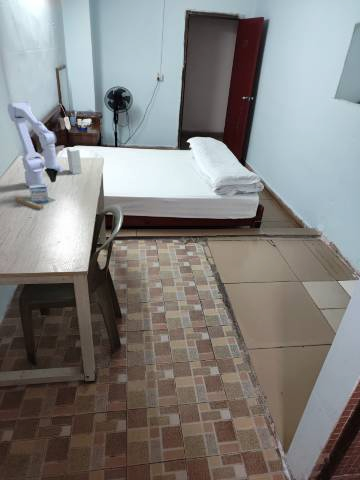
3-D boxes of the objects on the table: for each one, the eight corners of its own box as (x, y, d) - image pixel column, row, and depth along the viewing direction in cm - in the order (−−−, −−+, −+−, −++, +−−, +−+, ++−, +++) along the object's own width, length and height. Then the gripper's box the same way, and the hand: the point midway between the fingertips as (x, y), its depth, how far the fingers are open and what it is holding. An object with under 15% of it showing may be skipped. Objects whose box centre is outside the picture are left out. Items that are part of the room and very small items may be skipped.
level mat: (15, 201, 169) (14, 197, 168) (36, 193, 179) (35, 189, 178) (40, 210, 162) (39, 206, 161) (60, 201, 172) (59, 197, 171)
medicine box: (32, 204, 167) (29, 188, 162) (31, 200, 170) (28, 185, 166) (49, 202, 170) (46, 186, 166) (47, 198, 174) (45, 183, 169)
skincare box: (82, 173, 210) (80, 150, 202) (72, 174, 207) (70, 151, 199) (77, 169, 216) (75, 146, 208) (68, 170, 213) (66, 147, 205)
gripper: (66, 157, 169) (69, 182, 176) (46, 152, 175) (49, 176, 182) (55, 160, 164) (59, 186, 171) (35, 155, 169) (39, 180, 176)
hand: (53, 181), depth 176 cm, fingers closed
